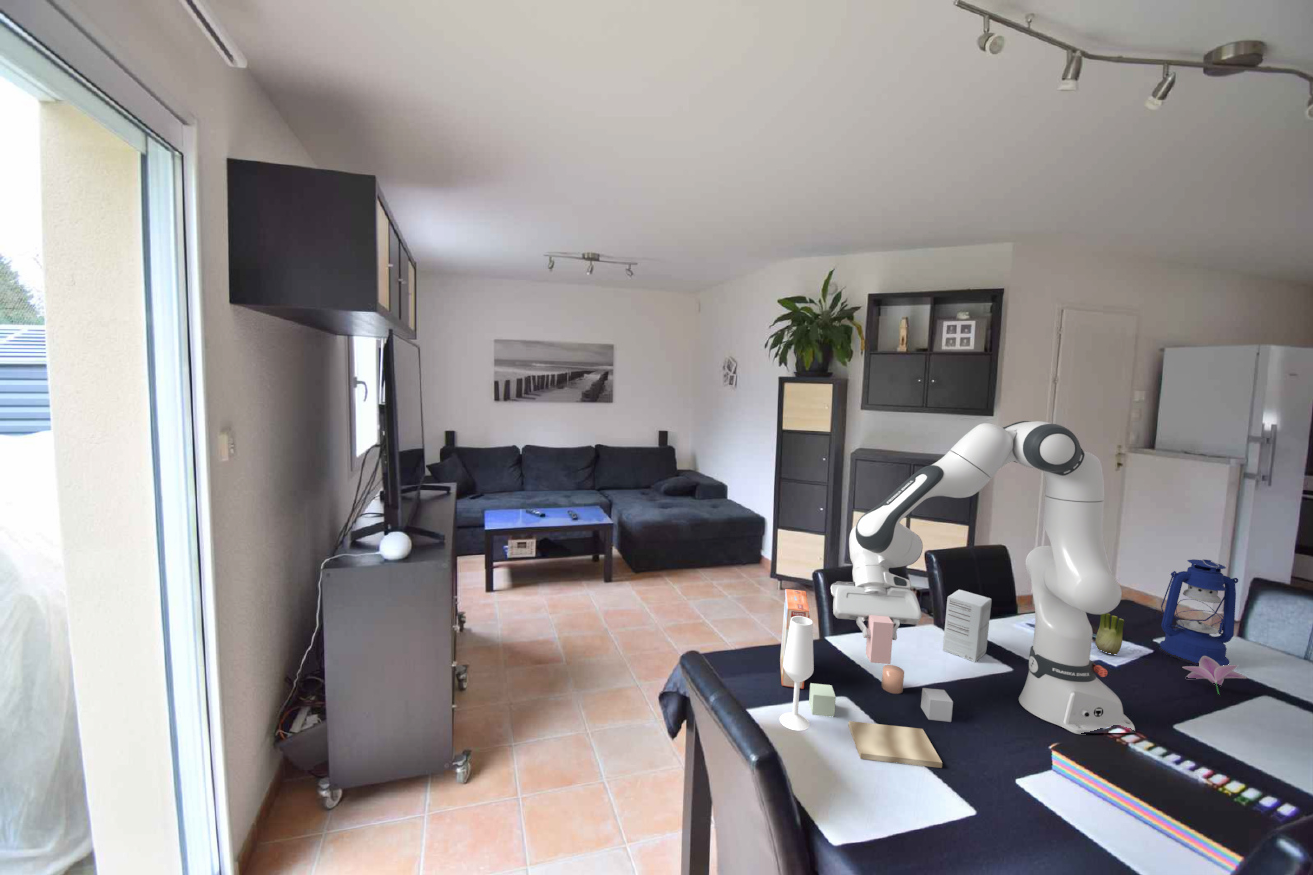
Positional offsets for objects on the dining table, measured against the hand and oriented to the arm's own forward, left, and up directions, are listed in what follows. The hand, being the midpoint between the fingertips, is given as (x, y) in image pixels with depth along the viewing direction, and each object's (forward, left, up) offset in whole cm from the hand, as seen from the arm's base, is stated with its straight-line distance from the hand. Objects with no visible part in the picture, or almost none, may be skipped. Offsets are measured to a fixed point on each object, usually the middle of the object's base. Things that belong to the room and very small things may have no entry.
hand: (880, 638), depth 130 cm
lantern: (-105, -46, -18) cm, 116 cm away
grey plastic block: (-14, 0, -17) cm, 22 cm away
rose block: (0, -1, -5) cm, 5 cm away
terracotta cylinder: (-7, -10, -17) cm, 21 cm away
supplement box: (-35, -35, -18) cm, 52 cm away
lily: (-93, -25, -18) cm, 98 cm away
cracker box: (+18, -12, -18) cm, 28 cm away
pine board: (0, +14, -17) cm, 22 cm away
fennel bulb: (-79, -43, -18) cm, 91 cm away
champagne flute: (+20, +9, -18) cm, 28 cm away
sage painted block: (+13, +3, -17) cm, 22 cm away
